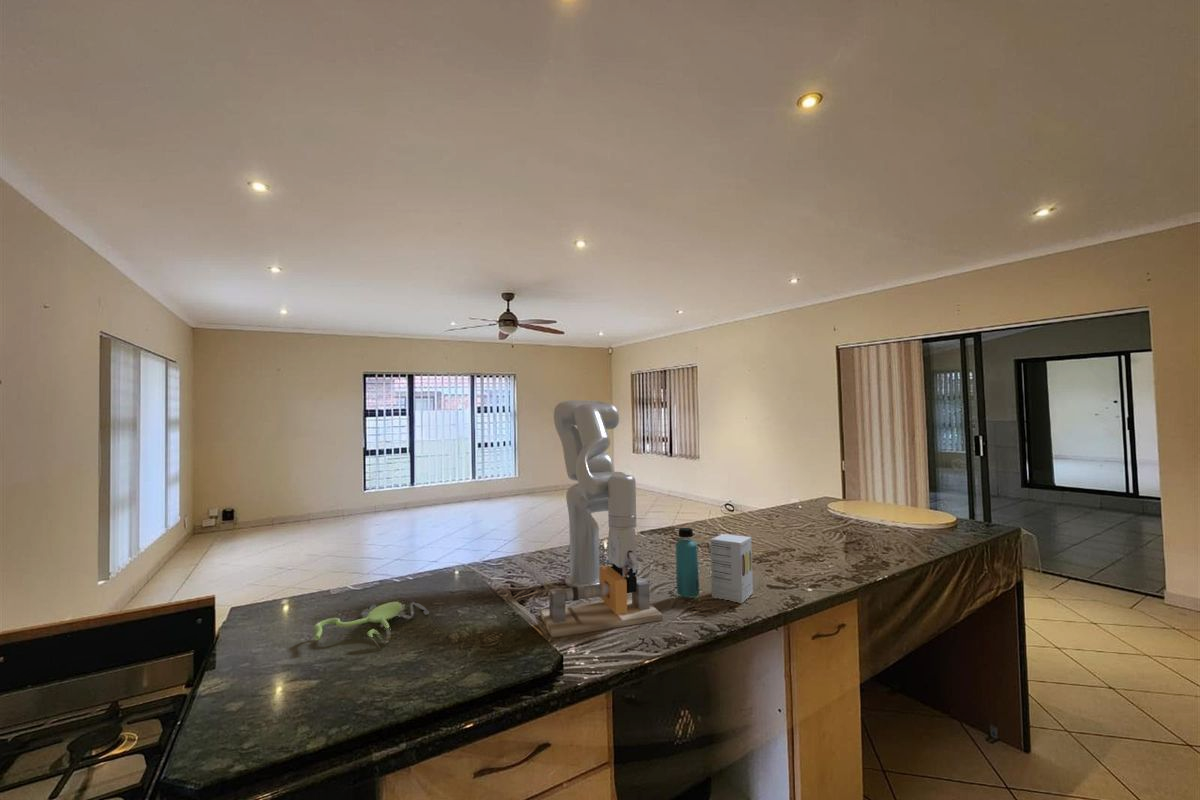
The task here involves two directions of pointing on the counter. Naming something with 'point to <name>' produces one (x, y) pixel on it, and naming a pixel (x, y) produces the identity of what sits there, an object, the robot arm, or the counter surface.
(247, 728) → the counter surface
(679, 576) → the beverage bottle
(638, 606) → the pipe rig
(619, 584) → the brown slab
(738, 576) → the supplement box
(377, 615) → the figurine
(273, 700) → the counter surface
